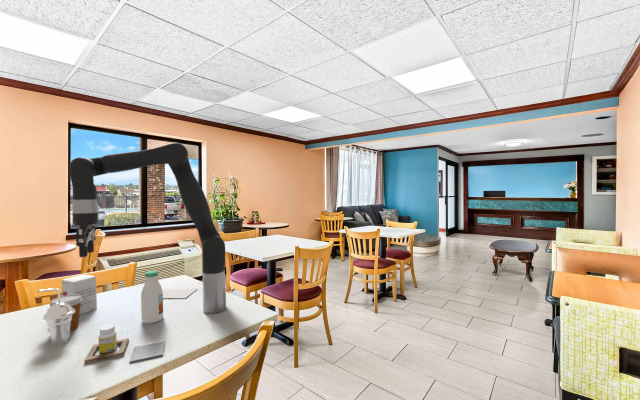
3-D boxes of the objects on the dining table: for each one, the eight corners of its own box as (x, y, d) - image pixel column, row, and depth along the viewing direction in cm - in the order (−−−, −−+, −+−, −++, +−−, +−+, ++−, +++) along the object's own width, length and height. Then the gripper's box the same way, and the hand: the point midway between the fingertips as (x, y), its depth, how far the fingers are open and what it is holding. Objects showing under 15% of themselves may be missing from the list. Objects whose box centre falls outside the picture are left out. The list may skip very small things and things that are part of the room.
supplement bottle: (105, 348, 98) (104, 324, 97) (120, 347, 98) (119, 323, 98) (95, 356, 93) (94, 330, 93) (111, 355, 93) (110, 330, 93)
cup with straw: (73, 343, 101) (72, 287, 100) (38, 351, 96) (36, 292, 95) (78, 333, 108) (76, 280, 107) (45, 340, 103) (43, 284, 102)
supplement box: (61, 313, 126) (60, 279, 125) (85, 305, 134) (84, 273, 134) (74, 316, 122) (73, 281, 122) (97, 308, 131) (96, 275, 130)
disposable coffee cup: (89, 325, 114) (88, 295, 114) (60, 337, 105) (59, 304, 105) (73, 322, 117) (72, 292, 117) (44, 333, 108) (43, 301, 108)
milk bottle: (153, 325, 115) (152, 275, 114) (137, 323, 116) (135, 273, 116) (167, 316, 122) (166, 269, 122) (151, 315, 124) (150, 268, 123)
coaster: (164, 342, 101) (164, 341, 101) (162, 356, 93) (162, 354, 93) (134, 348, 97) (134, 347, 97) (129, 363, 89) (129, 361, 89)
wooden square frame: (128, 341, 102) (128, 338, 102) (123, 356, 93) (123, 352, 93) (93, 348, 98) (93, 344, 98) (84, 364, 89) (84, 360, 89)
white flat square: (175, 307, 133) (175, 305, 133) (121, 307, 133) (121, 305, 133) (197, 289, 156) (197, 288, 156) (151, 289, 156) (151, 288, 156)
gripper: (92, 212, 104) (94, 257, 104) (102, 210, 117) (103, 250, 117) (65, 213, 100) (67, 259, 101) (79, 210, 113) (80, 251, 114)
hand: (86, 254), depth 109 cm, fingers open, 8 cm apart
